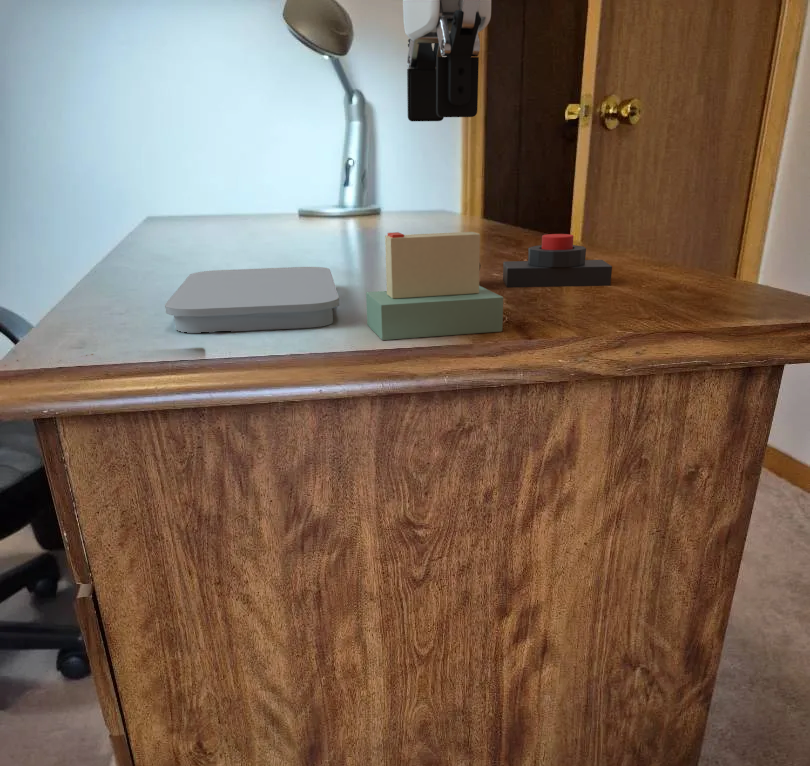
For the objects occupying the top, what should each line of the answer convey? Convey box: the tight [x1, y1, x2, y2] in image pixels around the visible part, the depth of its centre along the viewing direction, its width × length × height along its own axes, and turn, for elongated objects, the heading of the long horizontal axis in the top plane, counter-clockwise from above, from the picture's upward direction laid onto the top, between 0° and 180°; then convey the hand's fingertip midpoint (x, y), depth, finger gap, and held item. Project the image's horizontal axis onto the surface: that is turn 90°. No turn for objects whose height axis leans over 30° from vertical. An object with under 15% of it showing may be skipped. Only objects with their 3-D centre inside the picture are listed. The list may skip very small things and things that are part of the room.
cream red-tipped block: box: [384, 231, 481, 299], centre depth 70 cm, size 8×2×5 cm, turn 103°
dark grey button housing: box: [502, 244, 613, 288], centre depth 93 cm, size 12×6×4 cm, turn 88°
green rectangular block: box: [365, 285, 504, 341], centre depth 72 cm, size 11×7×3 cm, turn 103°
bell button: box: [541, 233, 575, 250], centre depth 92 cm, size 4×4×2 cm
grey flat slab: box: [164, 266, 340, 334], centre depth 84 cm, size 16×26×2 cm, turn 7°
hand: (440, 119), depth 66 cm, fingers open, 9 cm apart
